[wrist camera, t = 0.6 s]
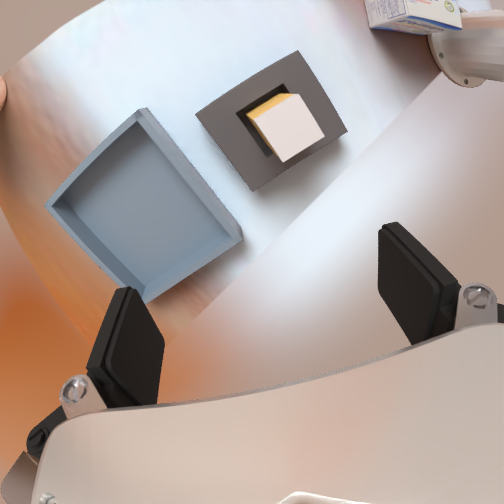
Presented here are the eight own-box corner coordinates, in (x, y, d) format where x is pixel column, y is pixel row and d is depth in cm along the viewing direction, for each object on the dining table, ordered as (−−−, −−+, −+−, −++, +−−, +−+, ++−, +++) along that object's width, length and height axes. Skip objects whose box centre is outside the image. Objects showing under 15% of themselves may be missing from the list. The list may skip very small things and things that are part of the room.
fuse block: (290, 54, 27) (298, 50, 24) (336, 127, 32) (347, 131, 29) (197, 112, 30) (194, 114, 27) (249, 182, 34) (252, 191, 31)
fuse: (275, 93, 29) (298, 93, 21) (295, 123, 31) (324, 136, 22) (244, 113, 30) (254, 121, 21) (264, 142, 32) (282, 162, 23)
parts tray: (146, 107, 29) (138, 109, 26) (240, 226, 37) (242, 240, 34) (56, 195, 32) (43, 205, 29) (146, 290, 40) (141, 307, 37)
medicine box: (368, 28, 26) (407, 17, 19) (362, -4, 24) (399, -22, 16) (420, 35, 26) (464, 31, 19) (415, 6, 24) (457, -5, 16)
